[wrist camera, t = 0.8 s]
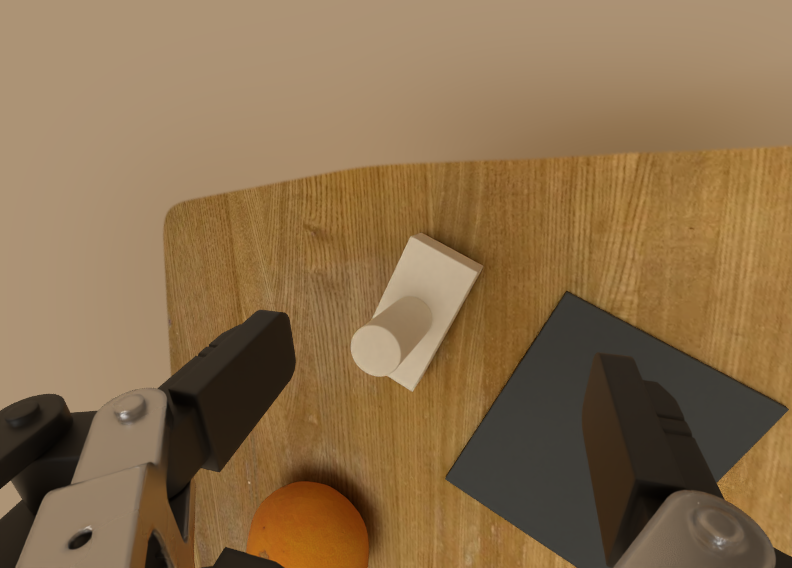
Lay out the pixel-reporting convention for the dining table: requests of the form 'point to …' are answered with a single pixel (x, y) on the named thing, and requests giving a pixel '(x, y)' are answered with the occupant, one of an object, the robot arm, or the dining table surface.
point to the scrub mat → (562, 426)
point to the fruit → (309, 529)
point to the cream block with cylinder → (415, 311)
